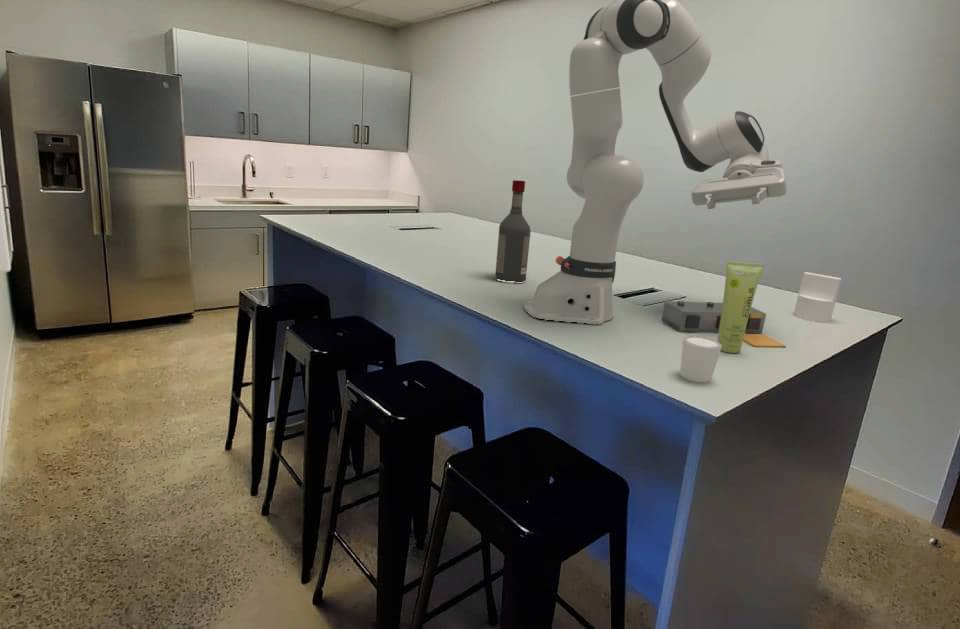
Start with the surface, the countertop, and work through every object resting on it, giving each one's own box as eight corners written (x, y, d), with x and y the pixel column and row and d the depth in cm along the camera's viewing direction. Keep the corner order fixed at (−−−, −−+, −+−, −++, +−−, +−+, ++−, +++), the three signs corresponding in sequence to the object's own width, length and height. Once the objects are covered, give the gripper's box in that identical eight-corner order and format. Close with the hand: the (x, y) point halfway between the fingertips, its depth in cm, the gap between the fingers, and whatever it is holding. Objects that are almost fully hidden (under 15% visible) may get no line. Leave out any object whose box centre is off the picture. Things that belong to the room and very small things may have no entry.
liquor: (495, 282, 169) (504, 180, 160) (495, 275, 177) (503, 178, 169) (525, 284, 169) (536, 182, 160) (523, 277, 178) (533, 181, 169)
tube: (730, 355, 119) (749, 265, 113) (709, 348, 123) (726, 260, 117) (744, 351, 122) (764, 264, 117) (723, 344, 126) (741, 259, 121)
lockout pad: (754, 347, 126) (754, 345, 126) (733, 335, 134) (733, 333, 133) (785, 347, 127) (786, 345, 127) (763, 335, 135) (763, 334, 135)
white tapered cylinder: (711, 387, 101) (718, 351, 99) (672, 377, 105) (679, 341, 103) (717, 376, 107) (725, 341, 105) (681, 366, 110) (687, 333, 108)
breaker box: (680, 332, 133) (684, 309, 131) (661, 320, 142) (665, 298, 140) (763, 334, 136) (768, 312, 135) (740, 322, 145) (744, 301, 144)
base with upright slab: (789, 316, 155) (799, 274, 152) (798, 311, 162) (808, 270, 158) (826, 324, 149) (837, 281, 146) (833, 319, 156) (844, 277, 152)
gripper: (696, 172, 140) (683, 196, 131) (788, 159, 128) (781, 184, 119) (700, 195, 143) (687, 220, 134) (790, 184, 131) (783, 211, 122)
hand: (732, 203), depth 126 cm, fingers open, 8 cm apart
